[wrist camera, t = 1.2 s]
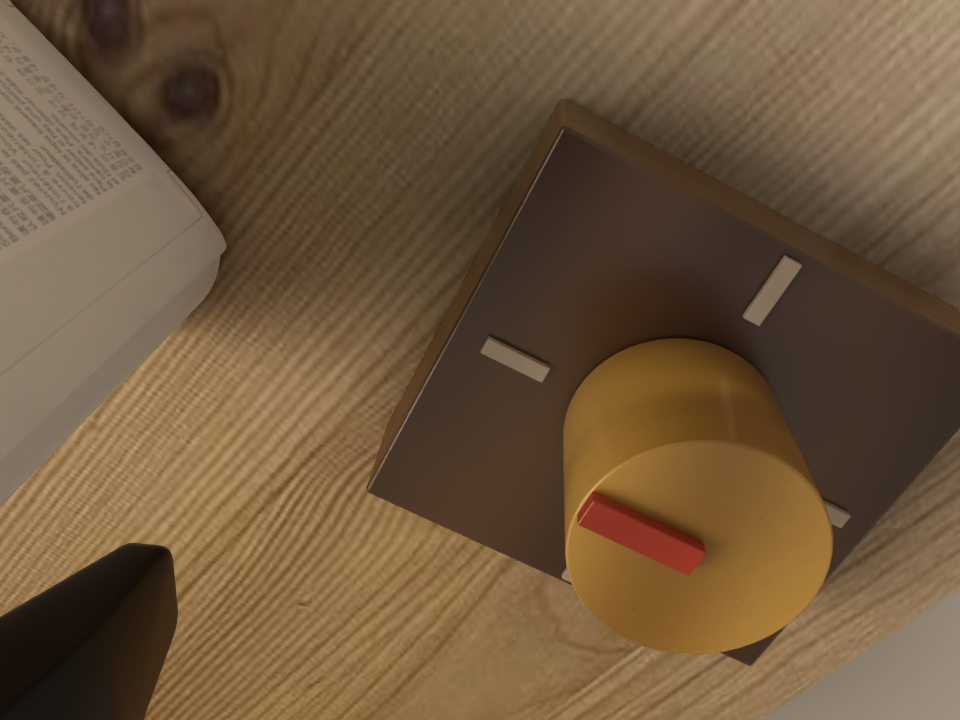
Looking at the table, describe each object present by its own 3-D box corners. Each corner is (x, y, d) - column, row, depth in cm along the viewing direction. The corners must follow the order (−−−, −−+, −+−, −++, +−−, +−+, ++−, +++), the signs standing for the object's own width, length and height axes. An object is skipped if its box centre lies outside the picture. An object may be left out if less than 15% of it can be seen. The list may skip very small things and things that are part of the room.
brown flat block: (955, 307, 20) (1020, 369, 18) (728, 585, 24) (752, 673, 21) (561, 95, 19) (562, 125, 16) (387, 424, 23) (363, 496, 20)
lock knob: (824, 397, 18) (896, 525, 14) (703, 552, 20) (738, 703, 16) (632, 299, 18) (654, 405, 14) (526, 468, 19) (518, 605, 16)
